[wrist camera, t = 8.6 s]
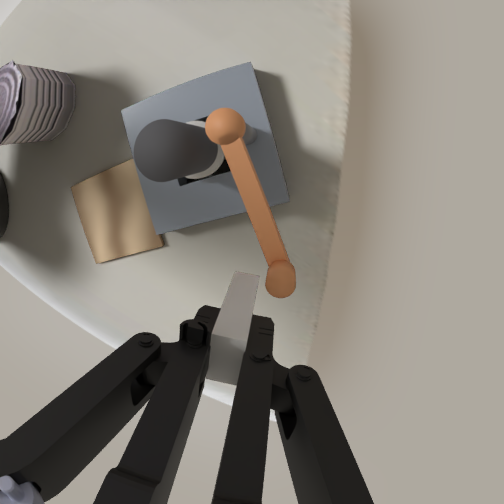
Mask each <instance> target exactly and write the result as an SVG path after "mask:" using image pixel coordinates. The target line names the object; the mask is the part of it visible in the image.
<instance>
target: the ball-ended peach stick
mask: <svg viewBox="0 0 504 504" xmlns="http://www.w3.org/2000/svg"><path fill="white" fill-rule="evenodd" d="M245 130H246V124H245V120H244V118H243V117H242V116H241V115H240V114H239V113H238V112H236V111H235V110H233V109H230V108H219V109H217V110H215V111H213V112H212V113H211V114H210V115H209V116H208V118H207V120H206V123H205V131H206V134H207V136H208V138H209V139H210V140H211V141H212V142H214V143H216V144H219V145H221V148H222V150H223V153H224V155H225V158H226V160H227V163H228V165H229V168H230V170H231V173H232V175H233V178H234V180H235V183H236V185H237V188H238V190H239V193H240V195H241V198H242V200H243V203H244V205H245V208H246V210H247V213H248V215H249V218H250V220H251V223H252V225H253V228H254V230H255V233H256V235H257V238H258V240H259V243H260V246H261V248H262V251H263V253H264V256H265V258H266V261H267V263H268V266H269V268H268V272H267V277H266V283H265V286H266V289H267V291H268V293H269V294H270V295H272V296H274V297H276V298H285V297H288V296H290V295H291V294H292V293H293V292H294V290H295V287H296V277H295V268H294V266H293V265H292V264H291V263H290V261H289V258H288V255H287V252H286V250H285V247H284V244H283V242H282V239H281V236H280V233H279V231H278V228H277V225H276V223H275V220H274V217H273V215H272V212H271V210H270V207H269V204H268V202H267V199H266V196H265V194H264V191H263V189H262V186H261V184H260V181H259V178H258V176H257V173H256V171H255V168H254V166H253V163H252V161H251V158H250V156H249V153H248V151H247V148H246V146H245V143H244V141H243V138H242V137H243V136H244V134H245Z"/></svg>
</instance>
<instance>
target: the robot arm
mask: <svg viewBox="0 0 504 504" xmlns="http://www.w3.org/2000/svg"><path fill="white" fill-rule="evenodd" d="M7 221H8V197H7V192H6V187H5V184H4V181H3V178H2V176H1V174H0V237H1V236H2V235H3V233H4V231H5V229H6V226H7ZM258 281H259V276H257V275H252V274H247V273H242V272H237V271H235V273H234V275H233V278H232V281H231V283H230V286H229V289H228V291H227V294H226V297H225V299H224V302H223V304H222V307H221V308H216V307H211V306H207V305H204V306H203V307H201V308H200V309H199V310H198V312H197V314H196V316H195V318H194V319H191V320H186V321H184V322H182V323H181V324H180V338H179V341H178V342H173V343H164V342H161V340H160V339H159V337H158V336H156V335H155V334H152V333H148V332H142V333H138V334H136V335H134V336H133V337H132V338H130V339H129V340H128V341H127V342H125V343H124V344H123V345H122V346H120V347H119V348H118V349H116V350H115V351H114V352H113V353H111V354H110V355H109V356H108V357H106V358H105V359H104V360H103V361H101V362H100V363H99V364H98V365H96V366H95V367H94V368H93V369H91V370H90V371H89V372H88V373H86V374H85V375H84V376H83V377H81V378H80V379H79V380H78V381H76V382H75V383H74V384H73V385H71V386H70V387H69V388H68V389H67V390H65V391H64V392H63V393H62V394H60V395H59V396H58V397H56V398H55V399H54V400H53V401H51V402H50V403H49V404H48V405H47V406H45V407H44V408H43V409H42V410H40V411H39V412H38V413H37V414H35V415H34V416H33V417H32V418H30V419H29V420H28V421H27V422H25V423H24V424H23V425H22V426H21V427H19V428H18V429H17V430H16V431H14V432H13V433H12V434H11V435H10V436H8V437H7V438H6V439H3V440H0V504H44V502H46V501H48V500H50V499H51V498H53V497H54V496H56V495H57V494H59V493H60V492H61V491H62V490H63V489H64V488H66V486H68V485H69V483H70V482H71V481H72V480H73V479H74V478H75V477H76V476H77V475H78V474H79V473H80V472H81V471H82V470H83V469H84V468H85V467H86V466H87V465H88V464H89V463H90V462H91V461H92V460H93V459H94V458H95V457H96V456H97V455H98V454H99V453H100V451H101V450H102V449H103V448H104V447H105V446H106V445H107V444H108V443H109V442H110V441H111V440H112V439H113V438H114V437H115V436H116V435H117V434H118V433H119V431H120V430H121V429H122V428H123V427H124V426H125V425H126V424H127V423H128V422H129V421H130V420H131V419H132V418H133V416H134V415H135V414H136V413H137V412H138V411H139V410H140V409H141V408H142V407H143V406H144V405H145V403H146V402H147V401H148V400H149V399H150V400H149V402H148V404H147V406H146V408H145V410H144V412H143V414H142V416H141V418H140V420H139V422H138V424H137V427H136V429H135V431H134V433H133V435H132V437H131V440H130V441H129V443H128V446H127V448H126V450H125V452H124V454H123V456H122V458H121V460H120V463H119V464H118V466H117V467H116V468H112V469H111V470H110V471H109V472H108V474H107V475H106V477H105V479H104V481H103V484H102V486H101V488H100V490H99V492H98V494H97V496H96V499H95V501H94V503H93V504H167V502H168V498H169V495H170V492H171V489H172V486H173V482H174V479H175V476H176V473H177V470H178V466H179V463H180V460H181V457H182V454H183V451H184V448H185V445H186V441H187V438H188V435H189V432H190V429H191V426H192V423H193V419H194V416H195V413H196V410H197V407H198V404H199V401H200V397H201V394H202V391H203V388H204V382H205V377H206V379H210V380H214V381H219V382H223V383H228V384H233V385H237V387H236V391H235V396H234V401H233V406H232V411H231V415H230V420H229V425H228V429H227V435H226V439H225V444H224V448H223V453H222V457H221V462H220V467H219V471H218V476H217V480H216V485H215V490H214V494H213V499H212V503H211V504H262V492H263V482H264V472H265V462H266V451H267V440H268V429H269V417H270V409H273V410H275V416H276V420H277V424H278V428H279V432H280V435H281V439H282V443H283V447H284V451H285V455H286V459H287V463H288V466H289V470H290V474H291V478H292V481H293V485H294V489H295V493H296V496H297V500H298V504H374V503H373V500H372V498H371V496H370V493H369V491H368V488H367V486H366V484H365V481H364V479H363V477H362V474H361V472H360V470H359V467H358V465H357V463H356V460H355V458H354V456H353V453H352V451H351V449H350V446H349V444H348V442H347V439H346V437H345V435H344V432H343V430H342V428H341V426H340V423H339V421H338V418H337V416H336V414H335V412H334V409H333V407H332V405H331V403H330V401H329V398H328V396H327V393H326V391H325V389H324V386H323V384H322V382H321V380H320V377H319V375H318V374H317V372H316V371H315V370H314V369H312V368H311V367H308V366H306V365H295V366H293V367H291V368H290V369H288V368H286V367H283V366H281V365H280V364H278V363H277V362H276V361H275V360H274V358H273V355H272V351H273V335H274V323H273V321H272V319H271V318H268V317H263V316H258V315H253V308H254V303H255V298H256V292H257V287H258ZM206 374H207V375H206Z"/></svg>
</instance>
